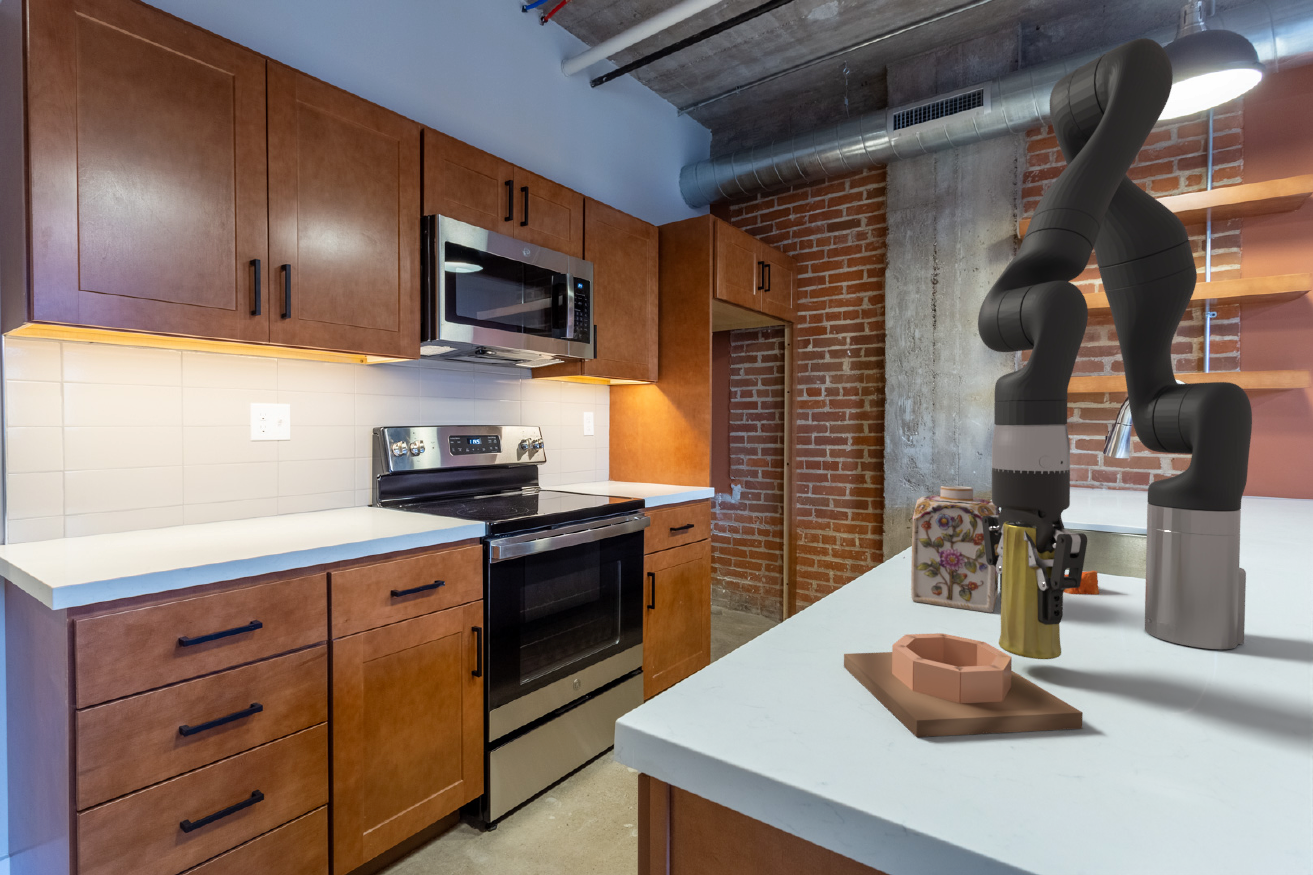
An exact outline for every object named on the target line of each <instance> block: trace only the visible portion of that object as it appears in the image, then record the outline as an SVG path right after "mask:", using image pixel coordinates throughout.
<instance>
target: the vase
mask: <svg viewBox="0 0 1313 875" xmlns="http://www.w3.org/2000/svg"><path fill="white" fill-rule="evenodd" d="M1006 523H1009V522H1008V521H1007V522H1005V523H1004V525H1003V565H1002V600H1001V599H1000V604H1001V606H1000V636H999V639H998V645H999V647H1000V648H1001V649H1002V650H1004V651H1005V652H1007V653H1009V654H1011V655H1015V656H1019V657H1022V658H1026V659H1036V660H1052V659H1053V660H1054V659H1056V658H1059V657H1060V656H1061V655H1062V647H1061V637H1060V636H1061V633H1060V632H1061V630H1060V623H1059V624H1052V625H1045V624H1043V623H1040V622H1039V621H1038V589H1040V588H1039V585H1038V582H1037V578H1036V574H1035V571H1034V570H1033V569H1031V568H1030V567H1029V565H1028V550H1029V548H1028V543H1027V542H1026V541H1025V540H1024V530H1025V532H1026V533H1027V534H1028V535H1029V536H1030V537H1031V538H1032V540H1033V542H1034V543H1035V546H1036V529H1035V528H1027V527H1017V526H1012V525H1008V524H1006ZM1036 550H1037V548H1036ZM1037 553H1038V551H1037ZM1054 554H1055V549H1054V550H1053V552H1052V553H1049V552H1048V551H1046V552H1045V553H1042V554H1040V553H1038V556H1039V558H1040V559H1042V560H1053V559H1054ZM1046 571H1047V575H1048V578H1051V574H1052V569H1051V568H1049V567H1047V568H1046Z"/></svg>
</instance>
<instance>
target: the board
mask: <svg viewBox="0 0 1313 875" xmlns="http://www.w3.org/2000/svg"><path fill="white" fill-rule="evenodd" d="M843 668H845V669H846V670H847V672H848V673H849V674H851V675H852V677H854V678H855V679H856V680H857V681H858V682H859V683H860V684H861V685H862V686H863V687H864V688H865V689H866V690H867V691H868V692H869V693H870V694H871V695H873V697H875V699H877V701H879V702H880V704H882V706H884V707H885V708H886V709H887V710H888V711H889V712H890V713H891V714H892V715H893V716H894V717H895V718H896V719H897V720H898V721H899V722H901V724H902V725H903V726H905V727H906V728H907V729H908V730H909V732H910V733H912V735H914V736H915V737H916V738H923V737H942V736H943V737H944V736H964V735H983V734H1000V733H1002V734H1003V733H1005V734H1006V733H1021V732H1041V731H1044V732H1045V731H1063V730H1077V729H1078V730H1080V729H1083V711H1081V710H1079V709H1078V708H1077V707H1074V706H1072V705H1071V704H1069V703H1067V702H1065V701H1064V700H1063V699H1061V698H1059V697H1057V696H1056V695H1054V694H1052V693H1051V692H1048V691H1047V690H1045V689H1044V688H1042V687H1041V686H1039V685H1037V684H1035V683H1033V682H1032V681H1031V680H1028V679H1027V678H1025V677H1024V676H1022V675H1020V674H1019V673H1017V672H1015V671H1013V670H1012V669H1011V688H1010V690H1009V691H1008V693H1007V695H1006V697H1005V698H1004V700H1003V701H1002V702H980V703H957V702H953V701H949V700H945V699H942V698H938V697H934V696H930V695H927V694H923V693H919V692H915V691H912V690H911V689H910V688H909V687H908V686H906V685H905V684H904V683H903V682H902V681H900V680H899V679H898V678H897V677H896V676H894V675H893V674H892V651H889V652H888V651H886V652H882V651H881V652H860V653H859V652H857V653H856V652H855V653H843Z"/></svg>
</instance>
